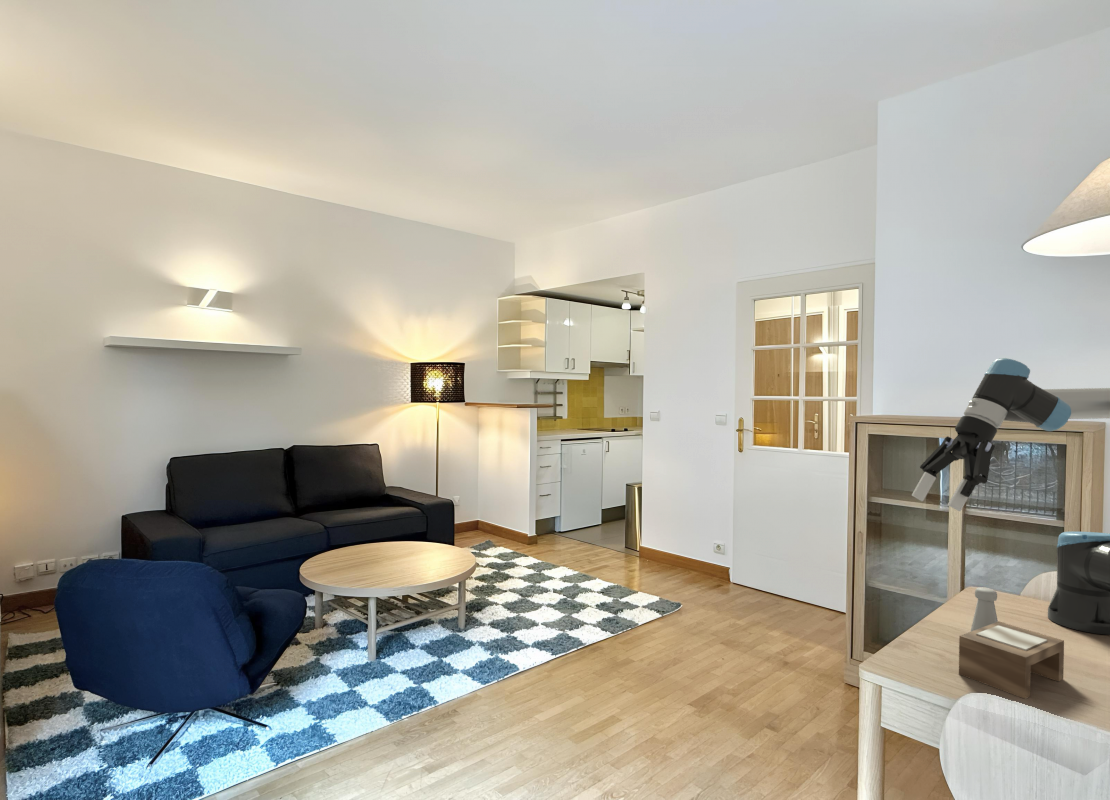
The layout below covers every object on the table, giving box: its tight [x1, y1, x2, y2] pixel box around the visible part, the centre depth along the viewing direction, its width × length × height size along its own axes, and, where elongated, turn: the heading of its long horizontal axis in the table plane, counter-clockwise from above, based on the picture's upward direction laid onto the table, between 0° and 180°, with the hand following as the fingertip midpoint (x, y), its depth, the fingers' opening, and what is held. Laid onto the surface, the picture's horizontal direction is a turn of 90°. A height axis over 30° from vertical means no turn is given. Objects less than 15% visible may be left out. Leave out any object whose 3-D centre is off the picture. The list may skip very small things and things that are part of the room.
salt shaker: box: [970, 586, 998, 632], centre depth 146 cm, size 6×6×13 cm
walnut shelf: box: [958, 621, 1065, 699], centre depth 130 cm, size 16×12×8 cm
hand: (934, 503), depth 144 cm, fingers open, 13 cm apart
